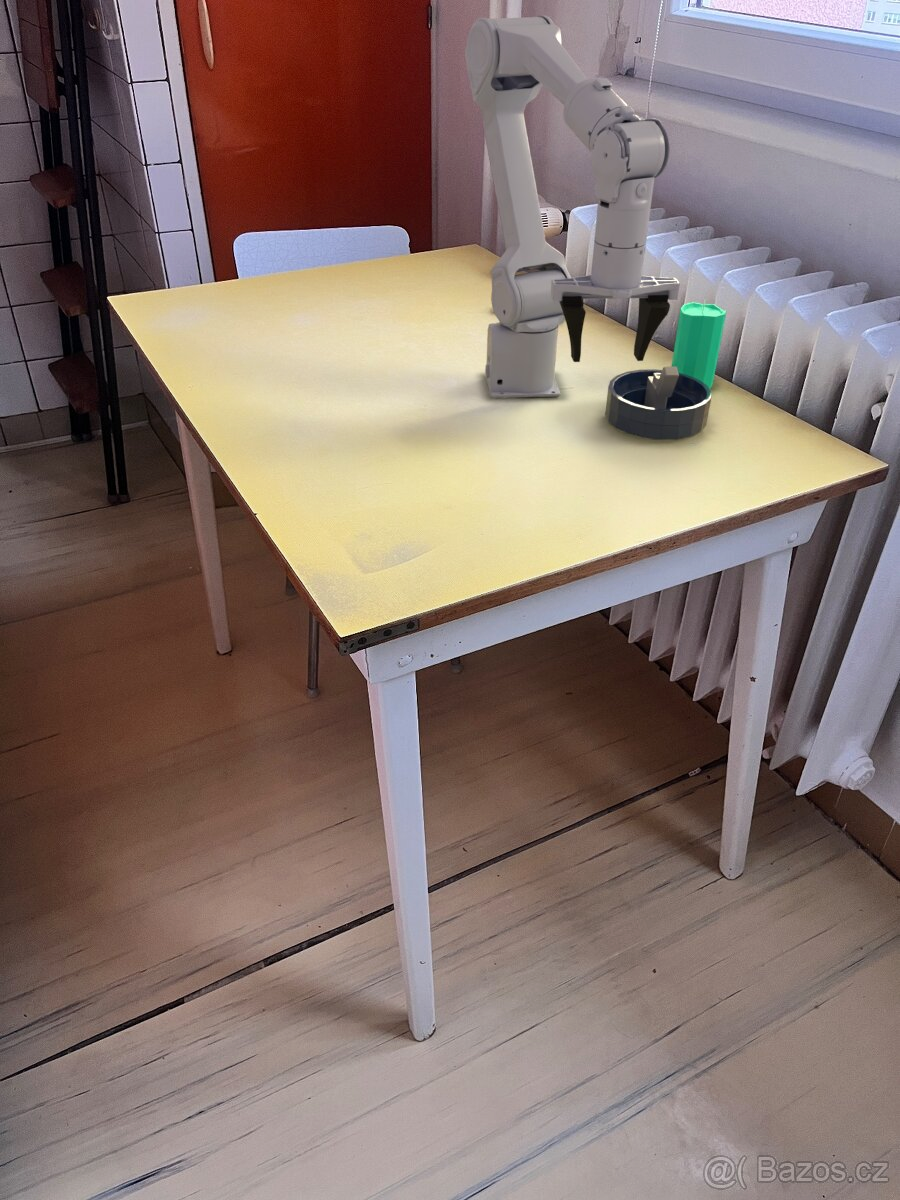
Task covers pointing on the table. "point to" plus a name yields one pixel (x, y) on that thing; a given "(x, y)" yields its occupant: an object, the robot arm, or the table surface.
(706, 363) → the candle
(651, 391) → the lighter
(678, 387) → the bowl
